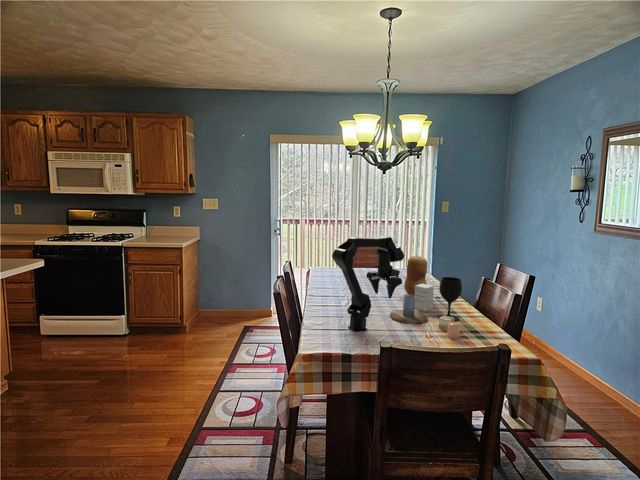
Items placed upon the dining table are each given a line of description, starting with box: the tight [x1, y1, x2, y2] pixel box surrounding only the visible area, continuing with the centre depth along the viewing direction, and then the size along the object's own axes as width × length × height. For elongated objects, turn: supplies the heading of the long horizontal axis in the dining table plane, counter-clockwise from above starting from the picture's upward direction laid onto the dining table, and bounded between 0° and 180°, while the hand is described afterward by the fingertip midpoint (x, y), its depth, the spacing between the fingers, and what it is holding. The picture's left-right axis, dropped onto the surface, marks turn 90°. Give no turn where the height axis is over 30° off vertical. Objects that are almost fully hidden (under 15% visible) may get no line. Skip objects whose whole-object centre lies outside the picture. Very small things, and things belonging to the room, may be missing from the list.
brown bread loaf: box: [389, 309, 428, 325], centre depth 192 cm, size 18×18×1 cm
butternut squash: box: [403, 255, 428, 295], centre depth 227 cm, size 14×13×25 cm
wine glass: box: [437, 276, 463, 323], centre depth 192 cm, size 10×10×20 cm
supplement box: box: [415, 283, 435, 312], centre depth 208 cm, size 7×7×13 cm
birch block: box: [438, 316, 454, 331], centre depth 178 cm, size 5×5×5 cm
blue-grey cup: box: [402, 293, 416, 317], centre depth 191 cm, size 6×6×10 cm
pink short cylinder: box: [446, 321, 461, 340], centre depth 166 cm, size 5×5×6 cm
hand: (383, 295), depth 182 cm, fingers open, 9 cm apart
